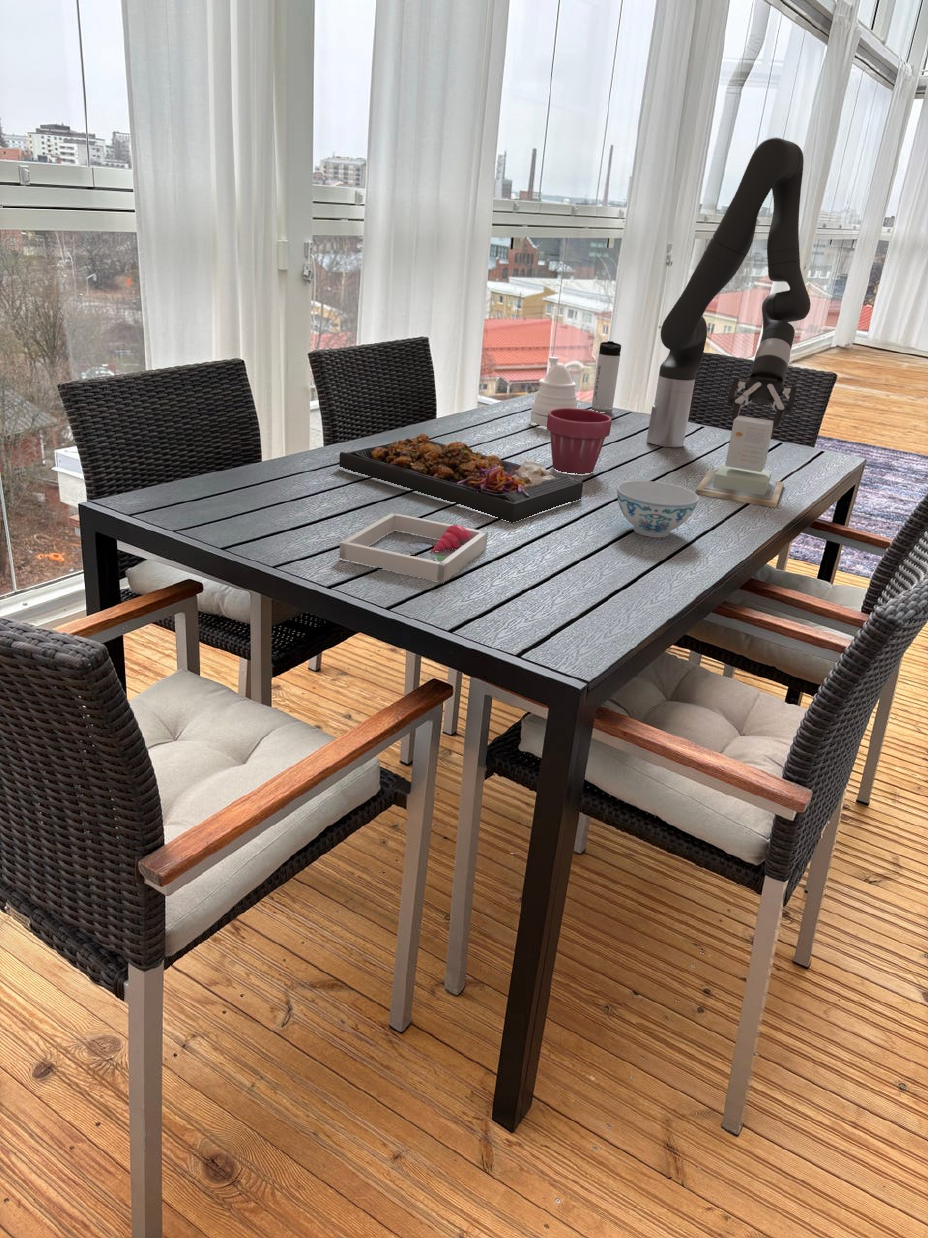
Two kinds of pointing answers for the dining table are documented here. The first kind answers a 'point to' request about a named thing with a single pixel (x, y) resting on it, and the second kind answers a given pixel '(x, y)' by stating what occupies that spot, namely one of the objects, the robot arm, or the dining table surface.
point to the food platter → (465, 476)
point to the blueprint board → (764, 500)
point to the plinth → (742, 479)
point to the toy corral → (410, 565)
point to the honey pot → (553, 393)
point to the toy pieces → (449, 540)
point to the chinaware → (655, 506)
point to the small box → (749, 443)
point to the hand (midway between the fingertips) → (754, 423)
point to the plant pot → (577, 438)
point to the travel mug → (606, 376)
